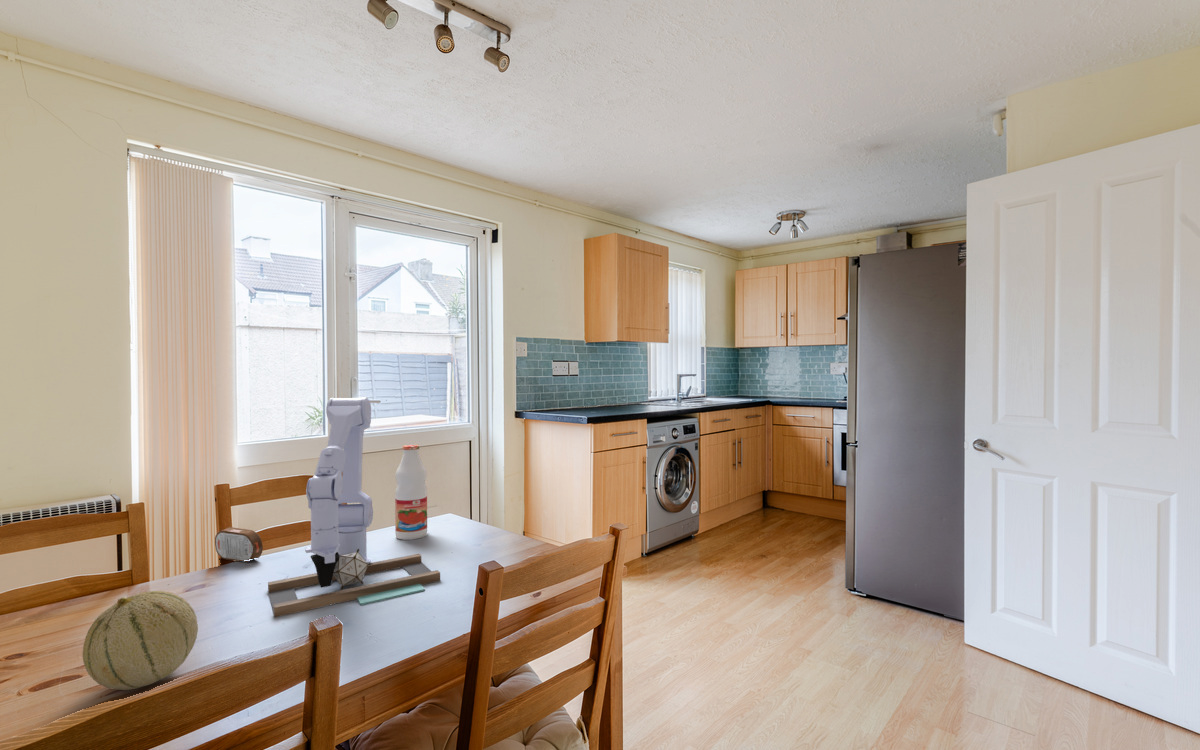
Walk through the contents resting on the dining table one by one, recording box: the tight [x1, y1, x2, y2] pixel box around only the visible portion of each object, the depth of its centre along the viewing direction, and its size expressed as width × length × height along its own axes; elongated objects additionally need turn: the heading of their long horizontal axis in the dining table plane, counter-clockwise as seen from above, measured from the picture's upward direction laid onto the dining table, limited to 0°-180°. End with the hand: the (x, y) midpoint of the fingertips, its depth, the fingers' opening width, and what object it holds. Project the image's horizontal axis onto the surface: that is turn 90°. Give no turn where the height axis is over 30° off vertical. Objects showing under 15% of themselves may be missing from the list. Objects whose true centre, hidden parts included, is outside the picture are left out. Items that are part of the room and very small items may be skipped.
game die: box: [333, 549, 373, 590], centre depth 133 cm, size 9×8×10 cm
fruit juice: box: [394, 444, 428, 541], centre depth 173 cm, size 9×9×28 cm
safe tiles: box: [356, 584, 426, 606], centre depth 137 cm, size 25×14×1 cm, turn 35°
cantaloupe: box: [82, 590, 199, 691], centre depth 92 cm, size 15×15×15 cm
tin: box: [214, 526, 264, 563], centre depth 152 cm, size 15×3×8 cm, turn 71°
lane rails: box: [267, 553, 441, 618], centre depth 133 cm, size 17×35×2 cm, turn 125°
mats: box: [268, 561, 432, 613], centre depth 133 cm, size 13×35×1 cm, turn 125°
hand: (325, 585), depth 130 cm, fingers closed, pressing on game die
